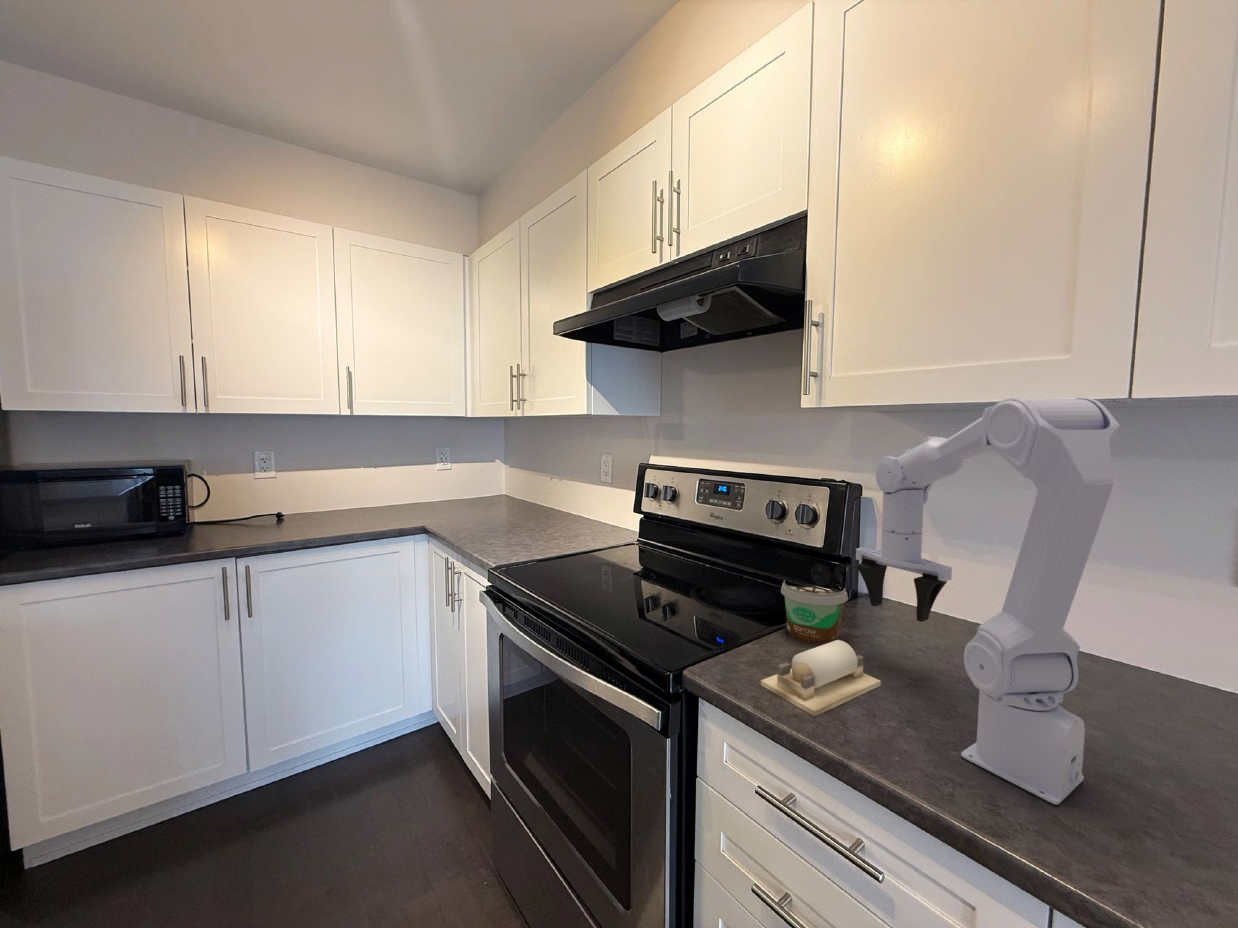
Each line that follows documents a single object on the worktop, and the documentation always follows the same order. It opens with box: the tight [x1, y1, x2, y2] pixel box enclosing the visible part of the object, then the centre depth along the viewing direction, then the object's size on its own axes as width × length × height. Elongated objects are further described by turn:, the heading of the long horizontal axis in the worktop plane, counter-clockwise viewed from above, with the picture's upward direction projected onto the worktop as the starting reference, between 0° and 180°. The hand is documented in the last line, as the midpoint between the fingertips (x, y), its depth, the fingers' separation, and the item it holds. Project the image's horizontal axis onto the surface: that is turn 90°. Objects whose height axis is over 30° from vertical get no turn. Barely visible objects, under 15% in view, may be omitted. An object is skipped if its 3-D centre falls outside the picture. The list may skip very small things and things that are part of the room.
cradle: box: [760, 654, 882, 718], centre depth 78 cm, size 10×16×4 cm, turn 121°
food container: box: [780, 579, 849, 645], centre depth 95 cm, size 12×6×10 cm, turn 62°
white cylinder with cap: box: [791, 639, 858, 689], centre depth 78 cm, size 5×12×5 cm, turn 121°
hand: (898, 612), depth 81 cm, fingers open, 7 cm apart
